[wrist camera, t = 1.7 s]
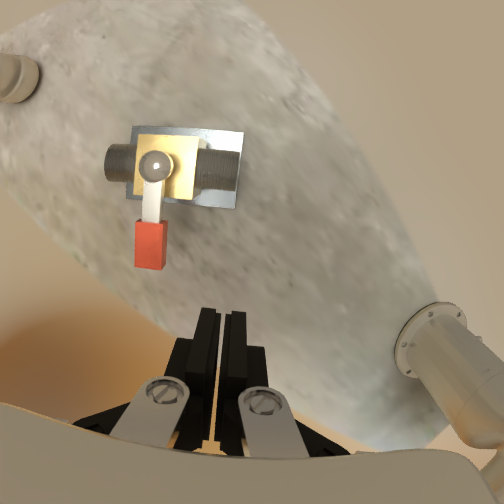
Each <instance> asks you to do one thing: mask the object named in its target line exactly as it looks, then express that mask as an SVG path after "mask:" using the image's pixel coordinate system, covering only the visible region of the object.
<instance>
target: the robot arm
mask: <svg viewBox="0 0 504 504" xmlns="http://www.w3.org/2000/svg"><path fill="white" fill-rule="evenodd" d="M220 323H221V313H216V309H211V308H201V312H200V316H199V319H198V323H197V327H196V331H195V334H194V338H193V339H185V338H177V339H176V342H175V345H174V348H173V350H172V354H171V356H170V359H169V362H168V365H167V368H166V371H165V374H164V376H158V377H154V378H151V379H149V380H147V381H146V382H145V383H144V384H143V385H142V386H141V388H140V389H139V391H138V392H137V394H136V395H135V397H134V398H133V400H132V401H131V402H129V403H126V404H123V405H121V406H118V407H115V408H112V409H109V410H106V411H104V412H101V413H98V414H95V415H92V416H88V417H86V418H82V419H80V420H78V421H76V422H74V423H73V424H69V423H68V420H63V419H56V418H50V417H46V416H43V415H40V414H38V413H35V412H32V411H29V410H26V409H23V408H20V407H17V406H13V405H10V404H6V403H1V402H0V504H504V362H503V361H502V360H501V359H500V358H499V357H497V356H496V355H495V354H494V353H493V352H492V351H491V350H490V349H489V348H488V347H487V346H485V345H484V344H483V343H482V337H481V336H475V335H473V334H472V333H471V332H470V331H469V330H468V329H467V321H466V317H465V315H464V313H463V311H462V310H461V309H460V308H459V307H457V306H456V305H454V304H452V303H449V302H439V303H435V304H432V305H429V306H427V307H426V308H424V309H422V310H421V311H420V312H418V313H417V314H416V315H415V316H414V317H413V318H412V319H411V320H410V321H409V322H408V323H407V325H406V326H405V327H404V329H403V330H402V332H401V334H400V336H399V338H398V341H397V343H396V348H395V361H396V364H397V366H398V368H399V369H400V371H401V372H402V373H403V374H404V375H405V376H408V377H410V378H419V379H420V380H421V382H422V383H423V385H424V386H425V388H426V389H427V390H428V392H429V393H430V395H431V396H432V398H433V399H434V401H435V402H436V404H437V405H438V406H439V408H440V409H441V411H442V412H443V414H444V415H445V417H446V418H447V420H448V421H449V423H450V424H451V426H452V427H453V429H454V430H455V432H456V433H457V435H458V436H459V438H460V439H461V440H462V441H463V442H464V443H465V444H466V445H468V446H470V447H473V448H477V449H497V453H496V455H495V456H494V457H493V458H492V460H490V461H489V462H488V463H487V465H486V466H485V467H484V468H483V469H481V470H480V471H479V470H478V468H477V467H476V466H475V465H474V464H473V463H472V462H471V461H470V460H469V459H467V458H466V457H465V456H463V455H461V454H458V453H454V452H451V451H445V450H437V449H406V450H395V451H387V452H361V451H356V453H355V454H350V453H349V452H348V451H347V450H345V449H344V448H343V447H341V446H340V445H338V444H336V443H334V442H333V441H331V440H329V439H327V438H326V437H324V436H322V435H320V434H319V433H317V432H315V431H314V430H312V429H310V428H309V427H307V426H305V425H304V424H302V423H300V422H299V421H297V420H296V419H294V417H293V414H292V412H291V409H290V407H289V404H288V402H287V400H286V398H285V397H284V395H282V394H281V393H280V392H279V391H276V390H274V389H272V388H269V386H268V376H267V367H266V358H265V349H264V347H260V346H248V345H247V333H246V312H239V311H232V314H226V317H225V326H224V336H223V345H222V354H221V364H220V374H219V385H218V398H217V409H216V422H215V436H214V441H219V442H220V450H221V451H223V452H225V453H226V454H227V455H219V454H208V453H200V452H192V451H194V450H196V449H197V448H202V442H203V440H209V435H210V425H211V416H212V415H211V414H212V407H213V398H214V388H215V380H216V370H217V358H218V346H219V334H220Z"/></svg>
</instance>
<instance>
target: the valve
mask: <svg viewBox="0 0 504 504" xmlns="http://www.w3.org/2000/svg"><path fill="white" fill-rule="evenodd" d="M243 136H244V133H241V132H231V131H220V130H209V129H195V128H178V127H154V126H132V134H131V143H130V144H112V145H111V146H110V147H109V148H108V150H107V153H106V156H105V162H104V170H105V176H106V178H107V180H108V181H112V182H127V190H126V199H136V200H143V190H144V179H143V178H142V177H141V175H140V173H139V162H140V159H141V158H142V156H143V155H144V154H145V153H147V152H149V151H152V150H157V151H163V152H165V153H167V154H168V155H169V156H170V157H171V159H172V161H173V170H172V173H171V175H170V176H169V177H168V178H167V179H166V180H165V187H164V200H163V202H171V203H182V204H192V205H202V206H212V207H221V208H231V209H235V203H236V194H237V186H238V177H239V169H240V160H241V152H242V144H243Z"/></svg>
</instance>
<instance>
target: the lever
mask: <svg viewBox="0 0 504 504" xmlns="http://www.w3.org/2000/svg"><path fill="white" fill-rule="evenodd" d="M172 170H173V161H172V159H171V157H170V156H169V155H168V154H167V153H165V152H163V151H157V150H152V151H149V152H147V153H145V154H144V155H143V156H142V158H141V159H140V162H139V173H140V175H141V177H142V178H143V179H144V190H143V206H142V218H141V219H139V220H138V221H136V224H135V267H139V268H147V269H154V270H162V269H163V267H164V266H165V265H166V246H167V228H168V221H165V220H162V214H163V200H164V187H165V180H166V179H167V178H168V177H169V176H170V175H171V173H172Z"/></svg>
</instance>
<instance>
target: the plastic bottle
mask: <svg viewBox="0 0 504 504" xmlns="http://www.w3.org/2000/svg"><path fill="white" fill-rule="evenodd" d="M38 79H39V70H38V66H37V64H36V63H35V62H34V61H33V60H32V59H30V58H29V57H26V56H20V55H9V54H4V53H0V100H1V101H3V102H6V103H18V102H21V101H23V100H24V99H26V98H27V97H28V96H29V95H30V94H31V93H32V92H33V91H34V89H35V87H36V85H37V83H38Z"/></svg>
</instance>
